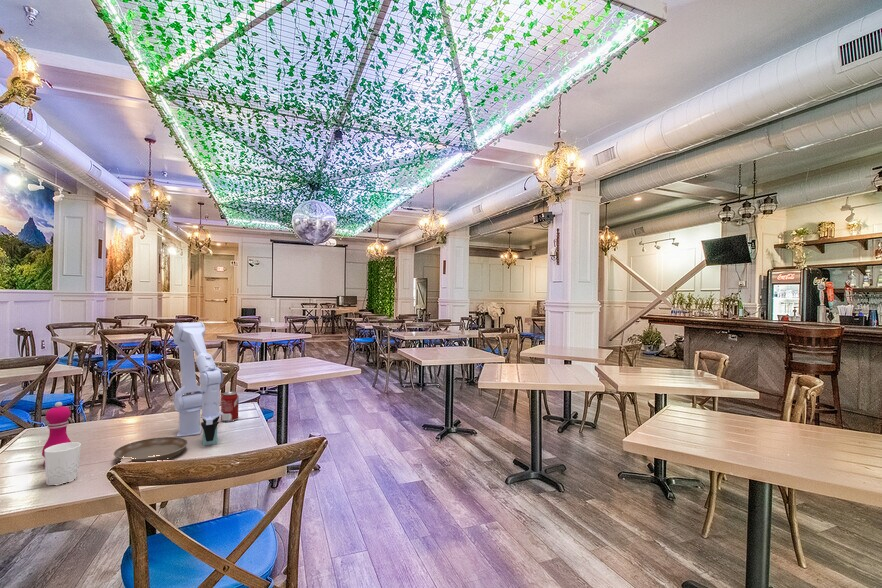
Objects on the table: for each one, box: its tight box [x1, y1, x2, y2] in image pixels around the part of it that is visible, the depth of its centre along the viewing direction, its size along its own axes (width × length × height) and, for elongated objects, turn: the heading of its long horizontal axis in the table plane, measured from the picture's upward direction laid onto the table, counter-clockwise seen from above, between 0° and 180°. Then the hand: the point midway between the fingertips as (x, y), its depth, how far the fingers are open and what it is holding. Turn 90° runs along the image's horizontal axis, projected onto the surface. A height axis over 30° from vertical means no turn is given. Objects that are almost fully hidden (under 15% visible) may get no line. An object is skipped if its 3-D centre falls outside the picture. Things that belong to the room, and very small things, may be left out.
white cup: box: [44, 441, 82, 486], centre depth 120 cm, size 8×8×10 cm
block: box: [202, 426, 218, 446], centre depth 153 cm, size 4×4×5 cm
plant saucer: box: [113, 436, 188, 462], centre depth 140 cm, size 21×21×3 cm
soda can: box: [220, 391, 240, 423], centre depth 180 cm, size 7×7×12 cm
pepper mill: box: [41, 401, 72, 468], centre depth 132 cm, size 7×7×20 cm
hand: (210, 438), depth 153 cm, fingers closed on block, 4 cm apart
